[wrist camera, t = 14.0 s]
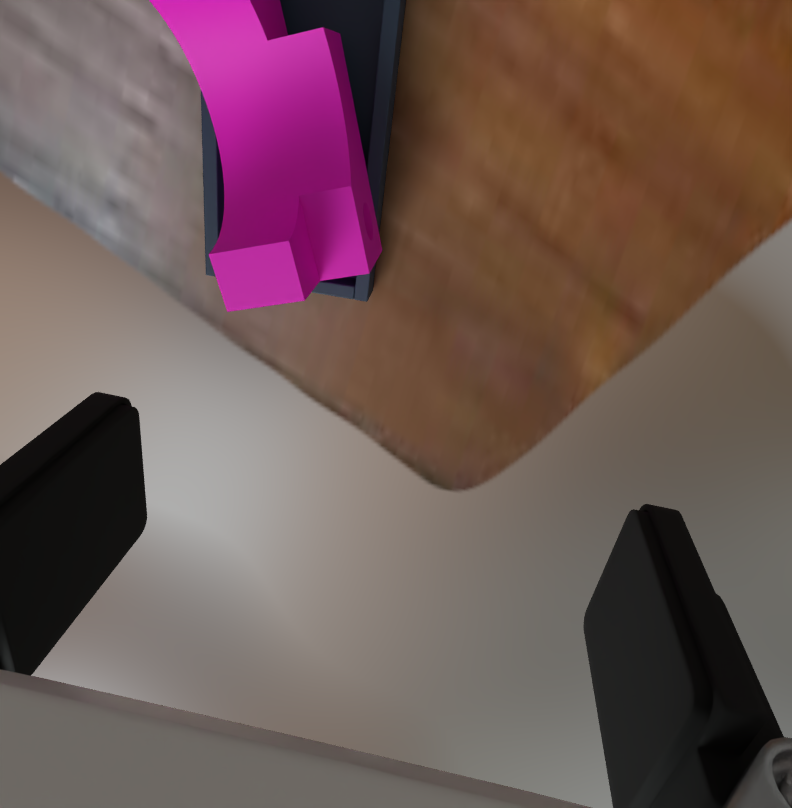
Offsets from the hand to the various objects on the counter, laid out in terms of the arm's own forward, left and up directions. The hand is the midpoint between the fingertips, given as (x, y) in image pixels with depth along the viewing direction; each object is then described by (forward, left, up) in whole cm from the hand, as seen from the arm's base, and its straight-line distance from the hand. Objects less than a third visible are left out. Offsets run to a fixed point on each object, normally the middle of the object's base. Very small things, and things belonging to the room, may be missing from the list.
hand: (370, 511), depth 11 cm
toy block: (+8, -5, -24) cm, 26 cm away
